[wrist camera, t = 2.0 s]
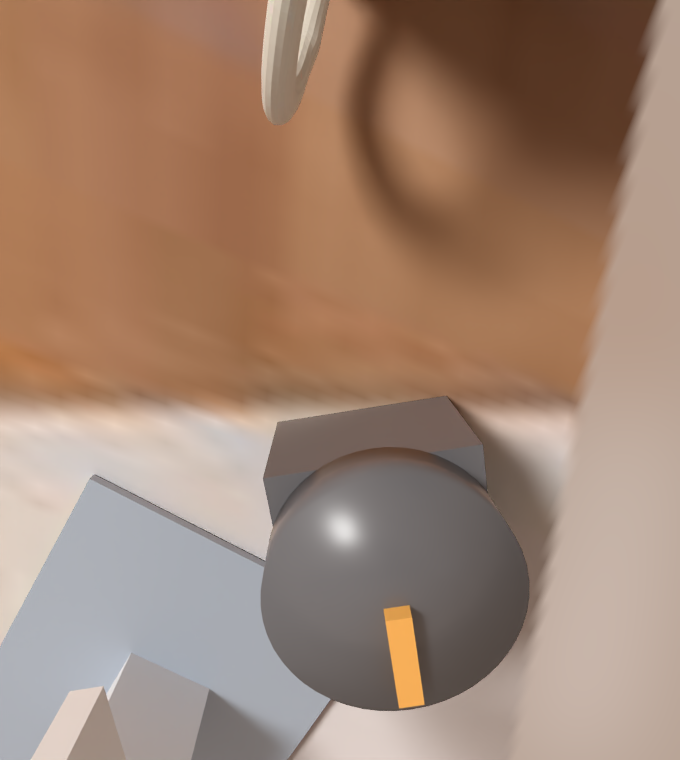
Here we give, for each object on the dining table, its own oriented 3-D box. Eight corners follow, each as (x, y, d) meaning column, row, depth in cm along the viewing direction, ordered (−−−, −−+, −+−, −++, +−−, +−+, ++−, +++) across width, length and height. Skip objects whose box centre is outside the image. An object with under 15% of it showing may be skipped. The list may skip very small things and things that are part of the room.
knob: (265, 413, 21) (232, 509, 14) (455, 384, 21) (526, 464, 13) (298, 580, 23) (285, 743, 15) (474, 553, 22) (544, 705, 15)
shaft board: (94, 474, 21) (25, 544, 16) (381, 620, 23) (396, 722, 18) (-61, 763, 24) (-157, 894, 20) (202, 871, 26) (174, 1013, 22)
